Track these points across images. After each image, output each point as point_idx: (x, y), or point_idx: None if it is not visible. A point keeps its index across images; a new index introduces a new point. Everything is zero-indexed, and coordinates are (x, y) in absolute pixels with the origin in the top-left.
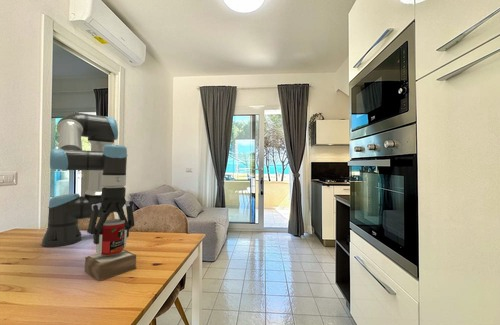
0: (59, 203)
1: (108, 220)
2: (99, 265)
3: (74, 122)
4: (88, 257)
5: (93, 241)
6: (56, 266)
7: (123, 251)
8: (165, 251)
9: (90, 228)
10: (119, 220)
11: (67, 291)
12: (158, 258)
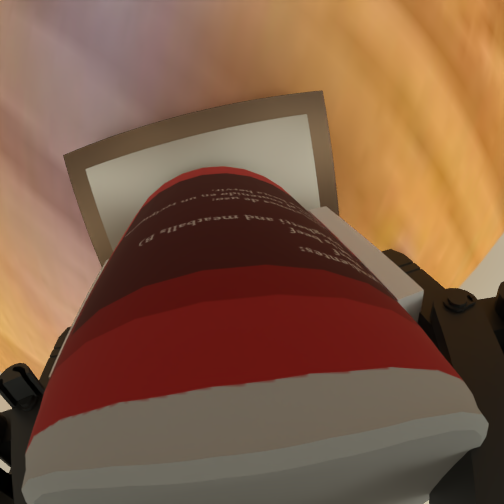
0: None
1: (206, 486)
2: None
3: None
4: (79, 178)
5: (56, 343)
6: (13, 5)
7: (312, 208)
8: (483, 148)
9: (7, 491)
10: (426, 469)
11: (60, 321)
12: (433, 212)
